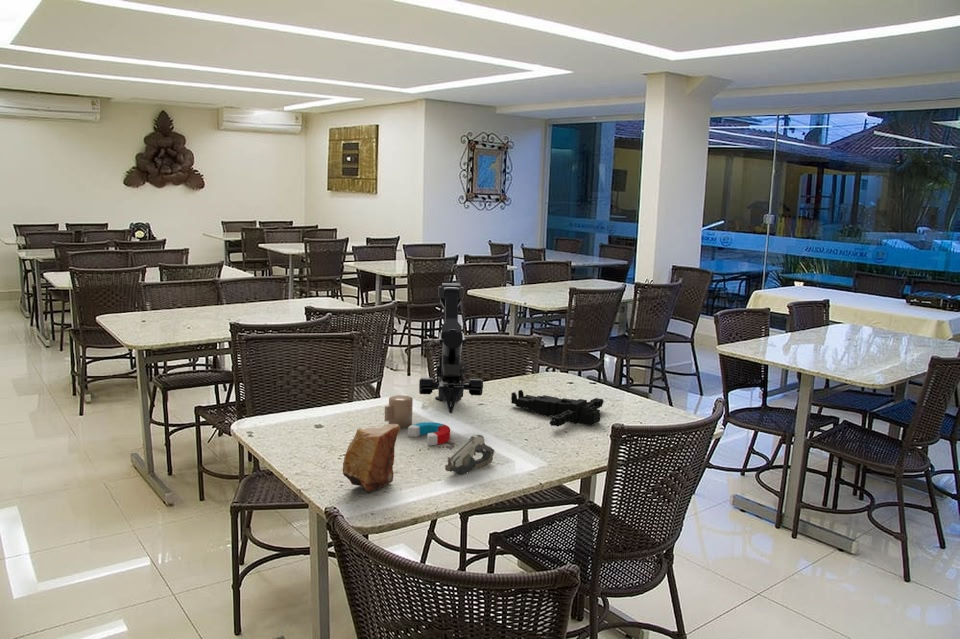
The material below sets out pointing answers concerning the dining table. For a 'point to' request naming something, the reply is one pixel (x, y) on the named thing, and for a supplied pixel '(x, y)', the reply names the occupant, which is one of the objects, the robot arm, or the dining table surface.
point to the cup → (399, 411)
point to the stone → (371, 457)
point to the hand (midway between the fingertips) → (450, 412)
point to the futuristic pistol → (470, 456)
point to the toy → (561, 408)
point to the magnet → (430, 432)
